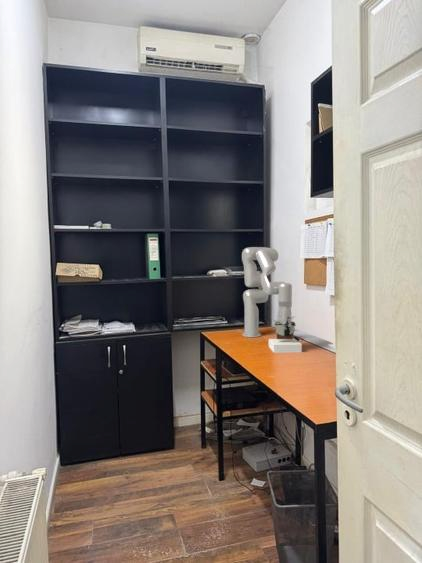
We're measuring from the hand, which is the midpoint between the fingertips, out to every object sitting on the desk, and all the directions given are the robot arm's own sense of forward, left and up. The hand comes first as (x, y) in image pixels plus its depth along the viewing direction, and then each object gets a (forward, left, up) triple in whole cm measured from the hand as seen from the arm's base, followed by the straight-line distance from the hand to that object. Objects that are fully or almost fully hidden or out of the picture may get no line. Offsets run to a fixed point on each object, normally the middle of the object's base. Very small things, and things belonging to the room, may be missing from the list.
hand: (284, 334), depth 224 cm
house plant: (-24, +11, -9) cm, 28 cm away
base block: (0, 0, -9) cm, 9 cm away
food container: (-1, 0, -3) cm, 3 cm away
